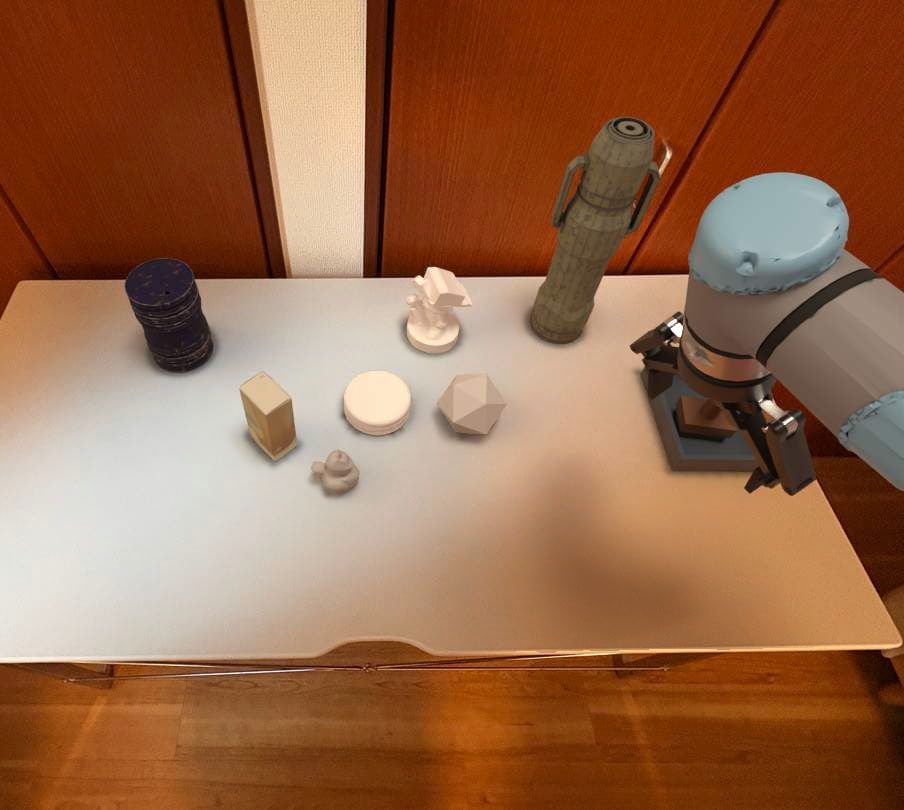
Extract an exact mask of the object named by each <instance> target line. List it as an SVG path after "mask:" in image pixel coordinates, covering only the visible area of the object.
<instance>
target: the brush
mask: <svg viewBox="0 0 904 810" xmlns="http://www.w3.org/2000/svg"><path fill="white" fill-rule="evenodd" d="M673 413H674V420H675V426H676V429H677V432H678V435H679V436H682V437H689V438H696V439H703V440H710V441H717V442H723V441H724V440H725V438H731V437H732V436H733V435H734V434H735V432H736V431H737V429H736V427H734V426H731V425H730V424H729V422H728V420H727V419H726V417H725V415H724V413H723V411H722V410H721V408H720V407H719V406H716V405H715V403H714V401H713V400H711V399H701V398H694V397H687V396H681V397H680V398H679V399H678V401H677V402H676V409H675V410H674V411H673Z"/></svg>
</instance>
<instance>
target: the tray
mask: <svg viewBox="0 0 904 810" xmlns="http://www.w3.org/2000/svg"><path fill="white" fill-rule="evenodd" d="M645 367H646V366H645V365H644V367H643V368H642V370H641V371H640V375H641V378H642V382H643V385H644V388H645V391H646V393H647V392H648V375H647V374H646V371H645ZM681 396H687V397H694V398H701V399H708V398H705V397H703V396H701V395H699V394H698V393H696V392H695V391H693V390H692V389H691V388H690V387H689V386H688V385H687V384H686V383H685V382H684V380H683V379H679V378H678V376H677V375H676V374H674V375H673V383H672V386H671V387H669V388H668V389H667V390H665V391H664V392H662V393H661V394H660V395H658V396H657V397H656V398H654V399H653V400H652V399H651V398H650V397H649V396H647V397H648V400H649V403H650V406H651V407H650V408H651V409H652V412H653V415H654V419H655V422H656V425H657V428H658V430H659V433H660V434H659V435H660V437H661V441H662V444H663V447H664V450H665V452H666V456H667V459H668V462H669V465H670V468H671V471H690V472H692V471H693V472H694V471H695V472H697V471H699V472H700V471H701V472H703V471H704V472H705V471H706V472H753V471H754V470H755V469H756V468H757V467H759V464H758V463H757V461H756V459H755V457H754V455H753V454H752V452H751V450H750V448H749V446H748V445H747V443H746V441H745V439H744V437H743V436H742V434H741V432H740V430H739V429H738V428H736V429H737V431H736V432H735V434H734V435H733V436H732V437H731V438H725V440H724V441H723V442H717V441H710V440H703V439H696V438H689V437H682V436H679V435H678V432H677V429H676V426H675V420H674V413H673V411H674V410H675V409H676V402H677V401H678V399H679V398H680V397H681ZM737 413H738V414H740V413H741V412H739V411H737Z"/></svg>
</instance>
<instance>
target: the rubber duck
mask: <svg viewBox="0 0 904 810" xmlns="http://www.w3.org/2000/svg"><path fill="white" fill-rule="evenodd" d="M310 470H311V472H312V474H313V476H314V478H315V479H317V480H322V483H323V485H324V487H325V489H326V491H327V492H329V493H334V494H335V493H337V494H341V493H343V492H345V491H348V490H350V489H352V488H353V487H354V486H355V485H357V483H358V481H359V479H360V470H359V467H358V466H357V465H356V464H355V463H354V460H353V458H352V457H350V455H349V454H347V452H345V451H344V450H340V449H336V450H333V451H331V452H330V453H329V454H328V456H327V457H326V459H325V462H322V461H317V460H316V461H313V462H312V463H311V466H310Z"/></svg>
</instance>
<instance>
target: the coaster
mask: <svg viewBox="0 0 904 810" xmlns="http://www.w3.org/2000/svg"><path fill="white" fill-rule="evenodd" d="M411 408H412V394H411V389H410V388H409V386H408V385H407V383H406V382H405V381H404V380H403V379H402V378H401V377H400V376H398V375H396V374H395V373H392V372H389V371H386V370H378V369H377V370H369V371H365V372H362V373H360V374H358V375H356V376H355V377H353V378H352V379H351V380H350V381H349V383H348V384H347V385H346V387H345V389H344V393H343V413H344V415H345V417H346V419H347V421H348V423H350V425H351V426H352V427H354V428H355V429H356V430H357V431H359V432H361V433H364V434H366V435H371V436H385V435H389V434H391V433H394V432H396V431H398V430H400V429H401V428H402V427H403V426H404V425H405V423H406V422H407V421H408V418H409V417H410V414H411Z"/></svg>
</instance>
